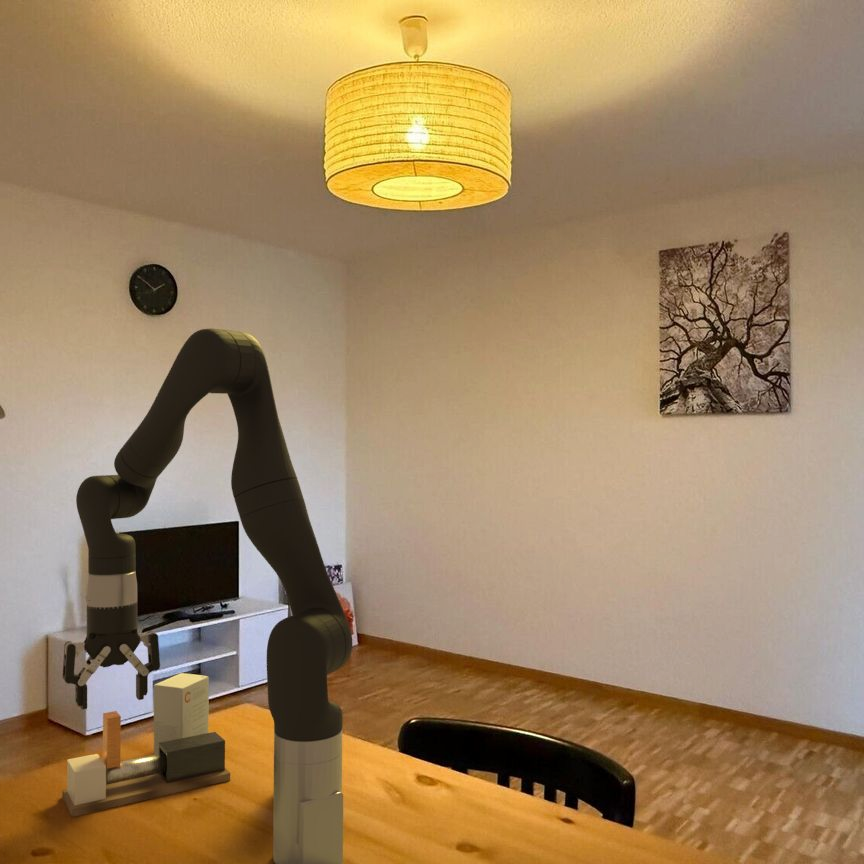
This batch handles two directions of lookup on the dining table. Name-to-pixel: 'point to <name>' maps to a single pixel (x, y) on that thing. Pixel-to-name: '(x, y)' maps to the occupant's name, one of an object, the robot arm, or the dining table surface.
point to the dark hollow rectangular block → (193, 756)
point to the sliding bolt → (127, 768)
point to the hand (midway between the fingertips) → (112, 703)
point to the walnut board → (142, 791)
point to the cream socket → (86, 779)
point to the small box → (180, 708)
